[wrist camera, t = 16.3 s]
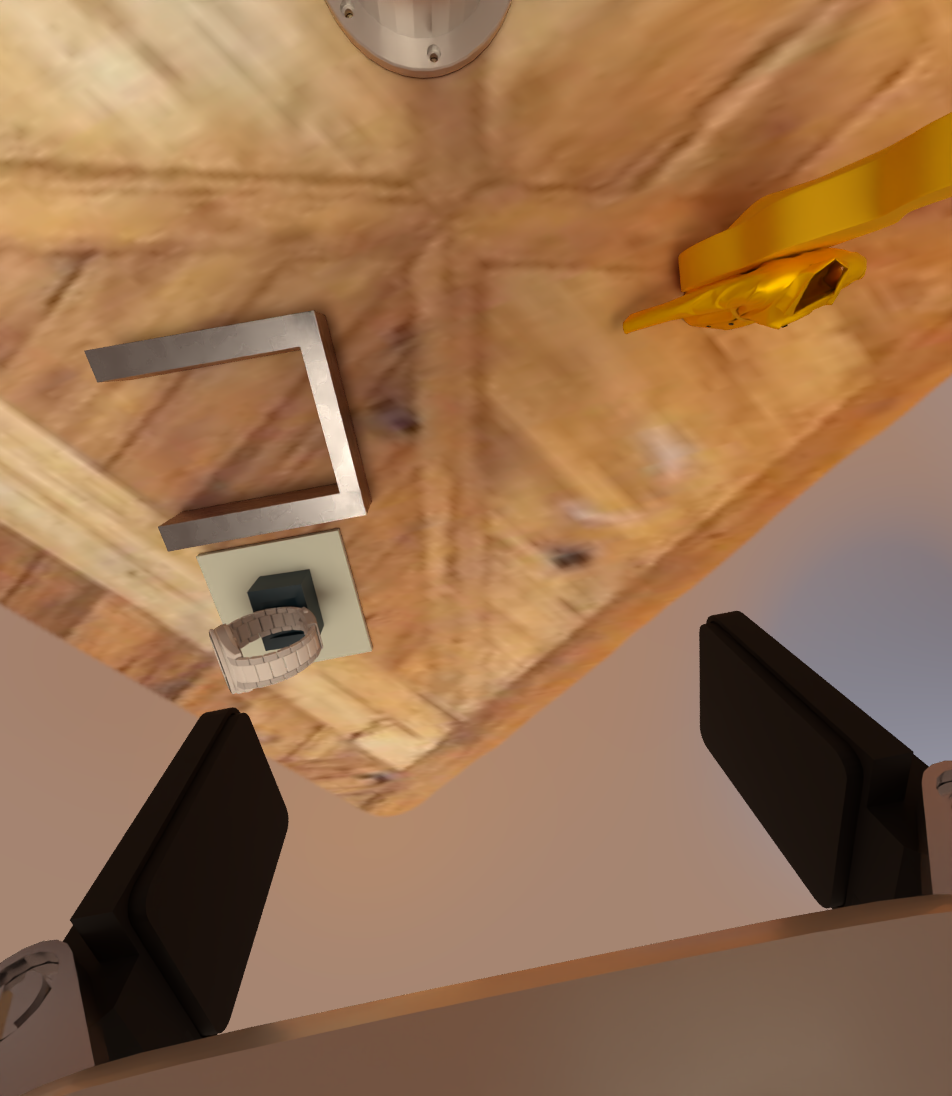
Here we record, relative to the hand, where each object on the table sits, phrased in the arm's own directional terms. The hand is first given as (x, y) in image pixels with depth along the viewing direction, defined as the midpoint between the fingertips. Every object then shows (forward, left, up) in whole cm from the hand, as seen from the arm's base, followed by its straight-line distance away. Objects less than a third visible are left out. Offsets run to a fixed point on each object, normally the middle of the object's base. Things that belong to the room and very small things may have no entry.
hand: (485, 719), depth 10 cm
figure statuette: (-9, +23, -34) cm, 42 cm away
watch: (+11, -16, -33) cm, 38 cm away
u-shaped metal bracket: (-4, -14, -33) cm, 36 cm away
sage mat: (+11, -16, -33) cm, 39 cm away
